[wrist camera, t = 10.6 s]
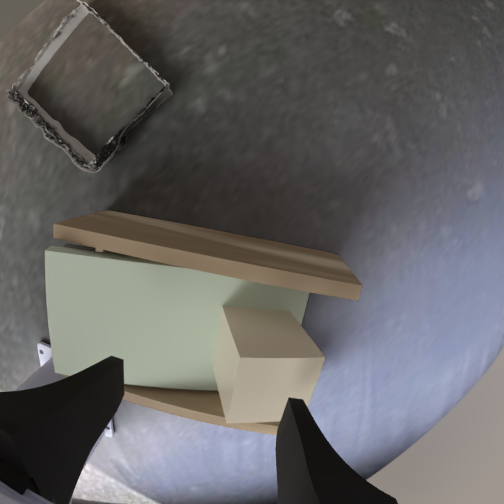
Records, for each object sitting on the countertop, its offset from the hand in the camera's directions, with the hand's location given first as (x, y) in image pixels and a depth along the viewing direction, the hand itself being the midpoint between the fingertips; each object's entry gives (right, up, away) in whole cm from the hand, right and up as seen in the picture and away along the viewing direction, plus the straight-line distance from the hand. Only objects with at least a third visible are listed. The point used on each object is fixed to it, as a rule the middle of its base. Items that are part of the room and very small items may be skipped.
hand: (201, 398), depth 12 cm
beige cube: (+2, +1, +6) cm, 7 cm away
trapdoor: (-3, +2, +8) cm, 9 cm away
